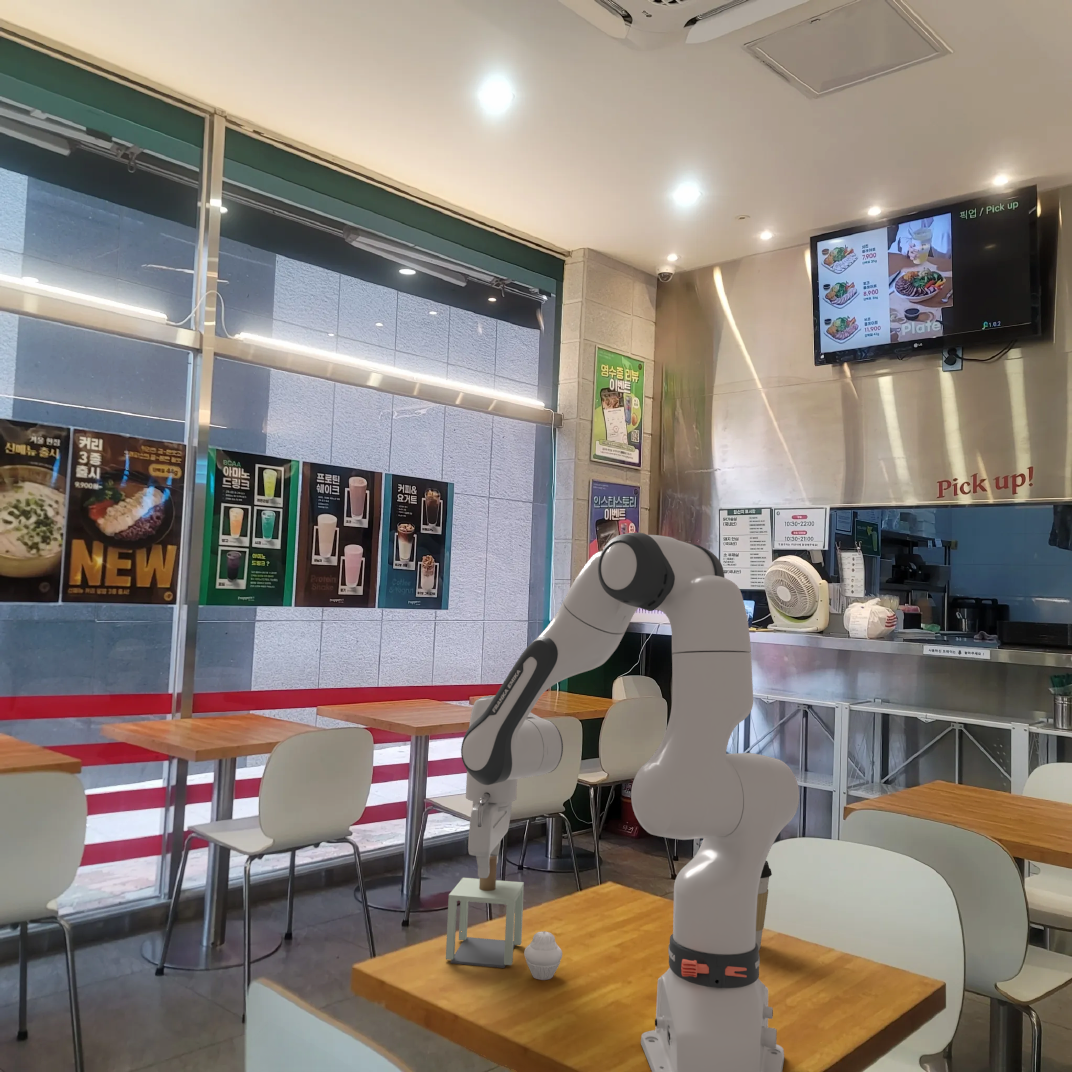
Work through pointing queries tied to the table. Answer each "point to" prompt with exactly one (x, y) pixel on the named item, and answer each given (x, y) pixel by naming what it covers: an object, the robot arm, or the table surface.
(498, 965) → the mat
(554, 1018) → the table surface
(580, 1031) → the table surface
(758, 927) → the coffee cup
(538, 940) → the muffin
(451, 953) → the cover
